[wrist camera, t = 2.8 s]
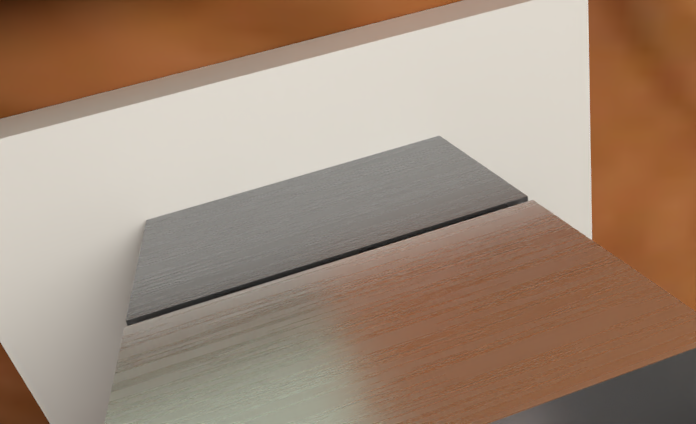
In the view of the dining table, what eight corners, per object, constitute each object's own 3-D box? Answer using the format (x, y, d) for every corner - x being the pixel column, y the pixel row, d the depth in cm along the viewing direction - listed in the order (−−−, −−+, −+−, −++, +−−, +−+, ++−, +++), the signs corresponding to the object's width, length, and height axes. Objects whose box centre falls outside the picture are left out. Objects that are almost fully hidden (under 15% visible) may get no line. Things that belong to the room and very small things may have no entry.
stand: (554, 395, 13) (595, 444, 12) (167, 536, 12) (163, 608, 10) (529, -17, 9) (587, -15, 8) (-55, 133, 8) (-107, 166, 6)
